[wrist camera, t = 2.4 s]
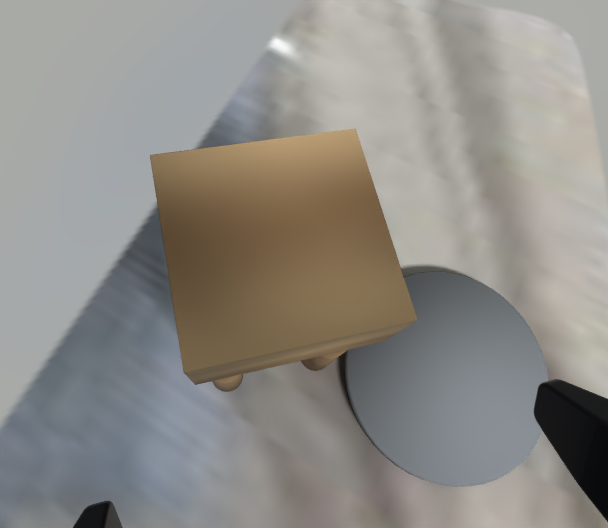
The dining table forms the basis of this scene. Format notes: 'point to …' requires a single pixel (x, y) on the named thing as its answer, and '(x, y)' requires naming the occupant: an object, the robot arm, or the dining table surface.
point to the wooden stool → (276, 255)
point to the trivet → (451, 384)
